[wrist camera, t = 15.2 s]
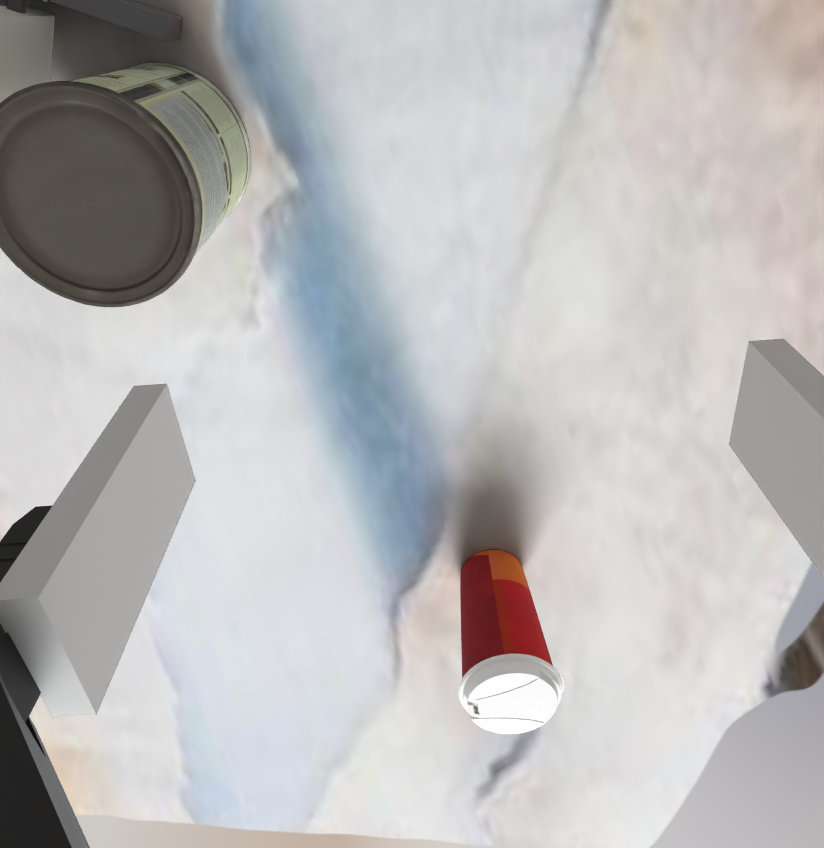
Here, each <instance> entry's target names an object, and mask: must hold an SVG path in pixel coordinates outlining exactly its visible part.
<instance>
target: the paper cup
mask: <svg viewBox="0 0 824 848" xmlns="http://www.w3.org/2000/svg"><path fill="white" fill-rule="evenodd" d="M460 591H461V641H462V680H461V683H460V685H459V698H460V701H461V703H462V705H463V707H464V708H465V709H466V710H467V711H468V713H469V715H470V718H471V719H472V720H473V722H474V723H475V724H477V725H478V726H479V727H481V728H483V729H485V730H488V731H490V732H494V733H500V734H518V733H524V732H527V731H531V730H533V729H536V728H538V727H540V726H542V725H543V724H545V723H546V722H547V721H548V720H549V719H550V718H551V716H552V715H553V714H554V713H555V711H556V709H557V706H558V704H559V702H560V700H561V695H562V694H561V693H562V692H563V690H564V681H563V677H562V675H561V673H560V672H559V671H558V670H557V669H555V668H554V667H553V665H552V662H551V658H550V655H549V652H548V648H547V645H546V642H545V639H544V635H543V632H542V629H541V625H540V622H539V619H538V616H537V612H536V609H535V606H534V603H533V599H532V596H531V593H530V590H529V587H528V583H527V580H526V577H525V574H524V571H523V569H522V566H521V564H520V562H519V561H518V559H517V558H516V557H515V556H513V555H512V554H510V553H508V552H506V551H503V550H496V549H492V550H484V551H481V552H478V553H476V554H474V555H472V556H471V557H470V558H469V559H468V560H467V561H466V562H465V563H464V565H463V567H462V570H461V585H460Z"/></svg>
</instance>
